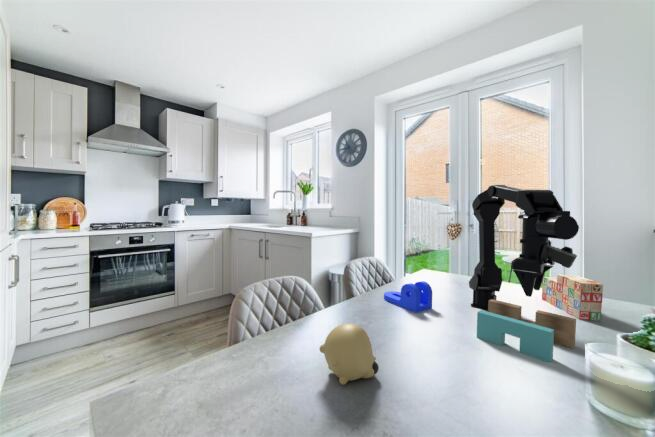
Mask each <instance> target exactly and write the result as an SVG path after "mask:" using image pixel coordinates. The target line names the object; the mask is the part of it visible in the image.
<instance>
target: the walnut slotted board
mask: <svg viewBox="0 0 655 437" xmlns="http://www.w3.org/2000/svg"><path fill="white" fill-rule="evenodd" d="M522 308H523V307H522V305H518V304H513V303H510V302H504V301H502V300H498V299H496V300H493V299H491V300H489V301H488V310H487V312H491V313H494V314H498V315H502V316H505V317H509V318H513V319H517V320H520V321H524V322H528V323H531V324H535V325H539V326H543V327H546V328H550V329H554V343H553V344H556V345H560V346H563V347H567V348H569V349H570V348H571V349H574V348H575V347H576V333H577V332H576V330H577V329H576V328H577V318H575V317H569V316H565V315H560V314H557V313H552V312H548V311H543V310H539V309H538V310H536V311H535V321H533V320H530V319H527V318H523V317H522Z"/></svg>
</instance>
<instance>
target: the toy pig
mask: <svg viewBox="0 0 655 437" xmlns="http://www.w3.org/2000/svg"><path fill="white" fill-rule="evenodd" d="M319 352H320V353H322V354H324V359H325V361H326V363H327V366H328V367H327V368H328V370H329V371H332V373H333V374H334V375H336V377H337V378H339V379H338V380H339V384H341V385H342V386H343V385H346V384H347V383H348V382H349V381H351V382H352V381H355V380H358V379H370V378H373V377H374V375H376V374H377V373H378V372H379V370H380V369H379V368H380V367H379V364H378V363H377V362H376V360H377V357H375V355H374V354H373V348H372V343H371V340H370V337H369V335H368V333H367V332H366V330H365V329H364V328H363V327H361V326H360V325H357V324H354V323H342V324H340V325H337V326H335V327H334V328H333V329H331V331H330V332H329V333H328V334H327V336H326V338H325V341H324V343H323V344H321V345H320V346H319Z"/></svg>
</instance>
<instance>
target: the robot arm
mask: <svg viewBox="0 0 655 437" xmlns="http://www.w3.org/2000/svg"><path fill="white" fill-rule="evenodd" d="M506 201H508V202H510V203H511V202H512V203H514V204H515V206H516V207H517V208H519V209H520V210H522V211H523V212H522V213H520V214H519V215H518V219H522V232H521V234H522V235H521V237H522V238H520V239H519V244H521V253H519V257H516V258H515V259H513V260H511V261H510V262H511V266H510V268H511V270H512V272H513V273H514V274H515V275H516V278H517V280H518V281H519V284H520V286H521V288H522V290H523V292H524V294H525V296H526V297H529V298H531V297H532V295H533V293H534V290H535V291H540V289H541V288H542V287H541V286H542V285H543V284H542V281H543V278H544V277H545V274H546V272H547V271H549V270H550V269H552V268H553V267H554V265H555V263H556V264H558V265H561V266H562V267H564V268H567V269H570V268H571V267H572V266H573V264H574V262H576V259H577V257H578V255H577V254H575V253H574V252H573V248H572V247H569V246H567V245H565V246H564V247H561V248H559V247H555V246H553V245H552V240H550V239H557V240H565V241H566V240H570V239H573V238H574V237H576V236H577V234H578V232H579V229H580V225H579V224H578V222H577V219H576V218H574V217H573V216H571V211H570V210H564V209H563V207H562V206H561V205H560V202H559V201H558V199H557V197H556V196H555V195H554V191H552V190H551V189H523V188H522V189H521V188H517V187H512V186H507V185H505V184H492V185H490V186H488V187H487V189H486V190H484V191H481V193H479V194H477V195H476V196H475V198H474V200H473V201H472V204H471V208H472V210H473V215H474V217H475V218H476V220H477V221H478V244H479V245H478V248H479V250H478V256H479V257H478V259H479V260H478V263H477V264H476V266H475V267H474V272H473V275H472V277H471V278H470V279H469V280H468V285H469V288H470V289H471V290H472V296H473V297H472V303H470V306H471V307H475V308H478V309H481V310H485V311H488V301H489V300H491V299H493V300H497V295H496V292H498V293H499V292H500V290H501V287H502V284H503V270H502V268H501V267H499V266H498V265H497V263H496V251H495V250H496V242H495V240H496V239H495V238H496V237H495V236H496V233H495V232H496V229H495V222H496V220H497V218H498V217H499V215H500V213H501V212H500V211H501V208H502V207H503V206H504V205H505V204H506ZM549 238H550V239H549Z"/></svg>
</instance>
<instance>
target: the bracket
mask: <svg viewBox="0 0 655 437" xmlns="http://www.w3.org/2000/svg"><path fill="white" fill-rule="evenodd" d="M384 299H385V300H384ZM383 300H384V301H385V302H388V303H390V304H393V305H396V306H398V307H400V308H403V309H405V310H408V311H409V312H413V313H415V314H417V313H420V312H421V313H422V312H424V311H428V310H432V309H433V289H432V287H431V285H430V284H429V283H428V282H426V281H425V280H423V281H418V282H417V281H416V282H415V283H405V284H403V285H402V286H401V289H400V291H393V290H391V291H390V290H389V291H385V292H384V293H383Z"/></svg>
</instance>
